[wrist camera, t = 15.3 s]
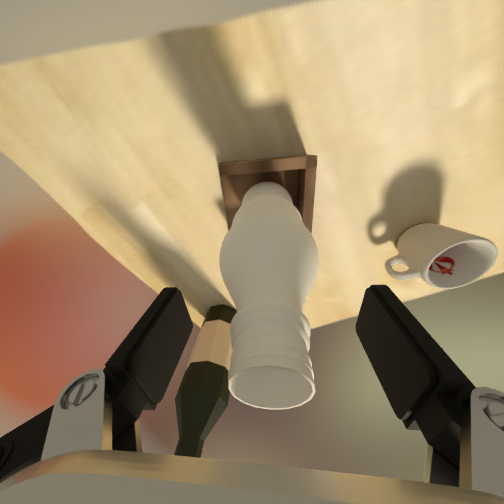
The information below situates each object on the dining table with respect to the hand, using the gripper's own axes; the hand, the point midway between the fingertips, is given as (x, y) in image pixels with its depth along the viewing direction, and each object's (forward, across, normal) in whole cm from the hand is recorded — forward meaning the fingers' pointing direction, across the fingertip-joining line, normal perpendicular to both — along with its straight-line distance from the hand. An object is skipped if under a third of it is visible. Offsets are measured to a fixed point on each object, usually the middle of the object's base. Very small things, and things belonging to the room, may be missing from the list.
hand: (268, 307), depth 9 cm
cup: (+23, -23, +9) cm, 33 cm away
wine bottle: (+22, +12, +26) cm, 37 cm away
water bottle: (+21, 0, 0) cm, 21 cm away
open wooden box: (+22, +1, 0) cm, 22 cm away
